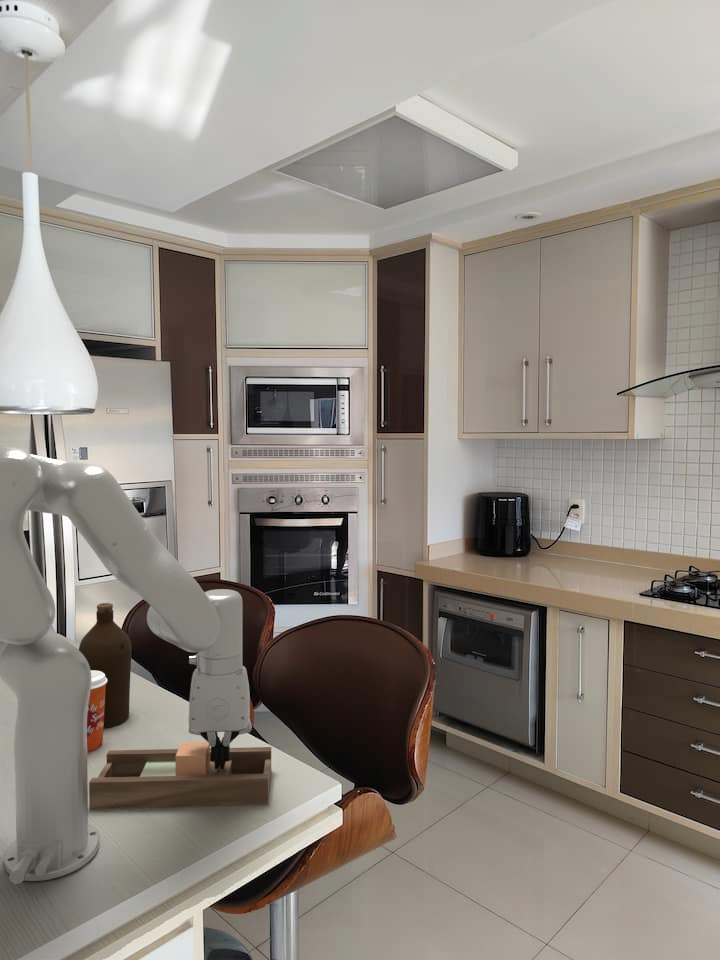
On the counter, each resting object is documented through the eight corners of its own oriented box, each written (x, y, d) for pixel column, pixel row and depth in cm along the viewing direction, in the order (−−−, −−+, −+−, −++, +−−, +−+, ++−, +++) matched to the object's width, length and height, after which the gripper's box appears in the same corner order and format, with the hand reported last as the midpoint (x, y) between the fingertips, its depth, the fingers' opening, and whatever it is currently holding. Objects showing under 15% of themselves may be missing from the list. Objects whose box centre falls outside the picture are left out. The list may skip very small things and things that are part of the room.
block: (205, 778, 113) (205, 755, 113) (175, 778, 113) (175, 756, 112) (209, 763, 118) (209, 741, 118) (181, 764, 118) (181, 742, 117)
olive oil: (137, 708, 148) (137, 598, 146) (124, 730, 137) (123, 611, 136) (88, 709, 147) (87, 598, 145) (71, 730, 137) (69, 611, 135)
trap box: (267, 804, 111) (267, 778, 111) (89, 809, 109) (89, 782, 108) (271, 770, 122) (271, 747, 122) (109, 774, 120) (109, 750, 119)
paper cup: (93, 757, 126) (92, 685, 125) (57, 752, 127) (56, 681, 126) (116, 738, 133) (115, 670, 132) (82, 734, 135) (81, 667, 134)
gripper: (171, 670, 110) (172, 777, 111) (262, 669, 111) (261, 775, 112) (180, 655, 117) (181, 755, 119) (265, 654, 118) (265, 753, 120)
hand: (220, 764), depth 116 cm, fingers closed
